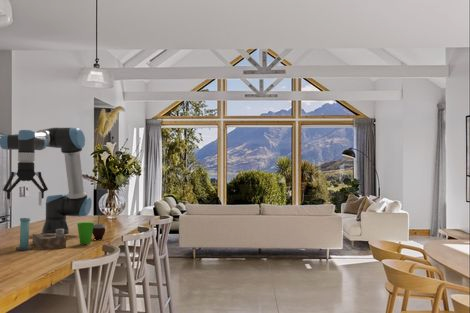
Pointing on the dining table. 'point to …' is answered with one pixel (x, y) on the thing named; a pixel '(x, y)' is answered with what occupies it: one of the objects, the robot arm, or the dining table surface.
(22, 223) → the teal tall cylinder
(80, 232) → the cup
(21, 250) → the coaster
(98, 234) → the mate gourd
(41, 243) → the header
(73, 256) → the dining table surface
